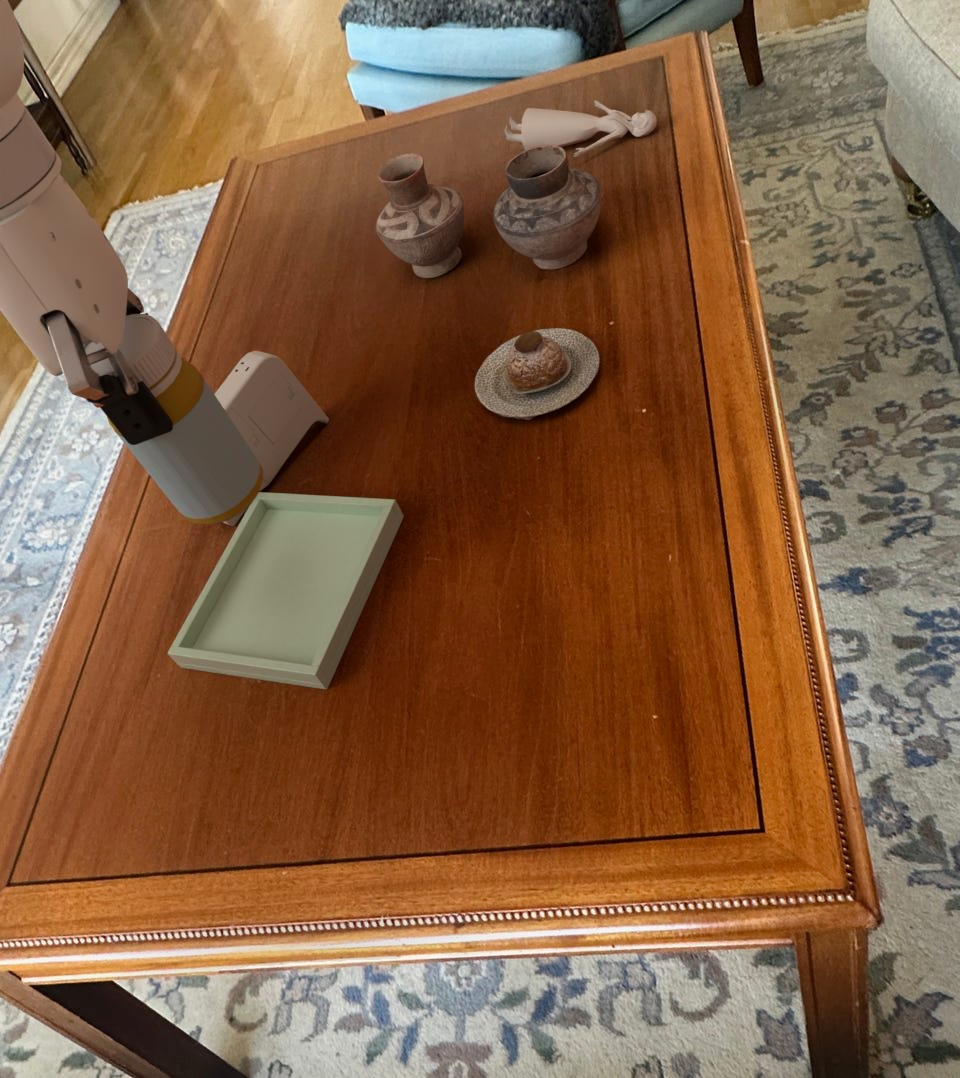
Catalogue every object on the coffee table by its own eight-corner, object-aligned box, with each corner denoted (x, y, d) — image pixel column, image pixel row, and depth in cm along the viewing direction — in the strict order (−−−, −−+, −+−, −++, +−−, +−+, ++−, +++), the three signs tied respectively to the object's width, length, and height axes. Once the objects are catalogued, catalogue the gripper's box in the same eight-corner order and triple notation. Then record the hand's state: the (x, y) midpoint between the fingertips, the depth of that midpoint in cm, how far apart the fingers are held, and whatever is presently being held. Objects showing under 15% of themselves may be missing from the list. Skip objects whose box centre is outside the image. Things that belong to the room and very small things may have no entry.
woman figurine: (517, 87, 120) (663, 76, 114) (523, 121, 124) (666, 112, 118) (491, 141, 114) (645, 132, 108) (499, 175, 117) (649, 168, 111)
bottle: (277, 456, 76) (178, 302, 65) (252, 525, 72) (142, 373, 61) (200, 464, 78) (91, 317, 67) (171, 533, 74) (50, 387, 63)
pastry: (609, 406, 87) (599, 367, 84) (480, 438, 90) (465, 402, 86) (593, 323, 95) (583, 285, 92) (475, 355, 97) (461, 319, 94)
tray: (327, 690, 77) (315, 675, 75) (180, 668, 83) (166, 653, 81) (404, 516, 86) (395, 499, 84) (267, 507, 92) (256, 491, 90)
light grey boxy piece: (225, 534, 95) (311, 414, 99) (245, 542, 93) (331, 420, 97) (154, 469, 86) (252, 340, 90) (174, 477, 84) (272, 345, 89)
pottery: (412, 236, 115) (375, 143, 106) (621, 216, 105) (599, 111, 96) (381, 299, 108) (339, 205, 100) (600, 283, 99) (575, 178, 90)
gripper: (-48, 128, 61) (113, 346, 74) (-107, 276, 49) (97, 504, 62) (61, 82, 60) (204, 310, 73) (28, 221, 48) (205, 464, 62)
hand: (153, 398), depth 68 cm, fingers closed on bottle, 7 cm apart
